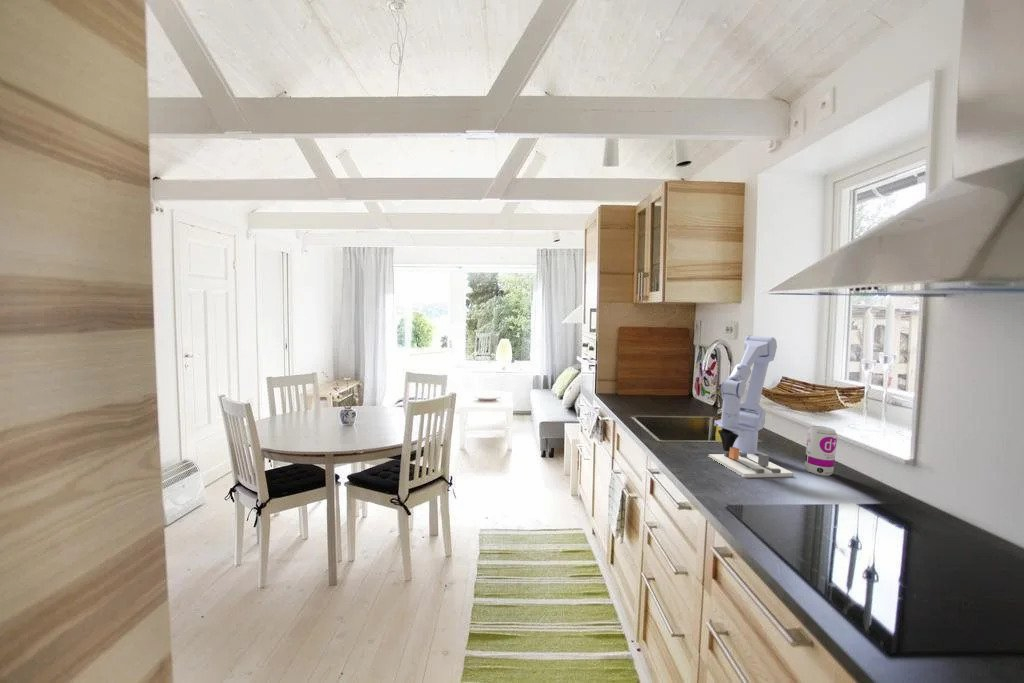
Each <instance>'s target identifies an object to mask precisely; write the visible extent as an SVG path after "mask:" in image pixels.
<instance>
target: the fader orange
mask: <svg viewBox="0 0 1024 683" xmlns="http://www.w3.org/2000/svg"><path fill="white" fill-rule="evenodd" d="M728 453H729V457H730V458H732V459H739V453H740V452H739V449H738V448H736V447H730V451H728Z"/></svg>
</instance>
